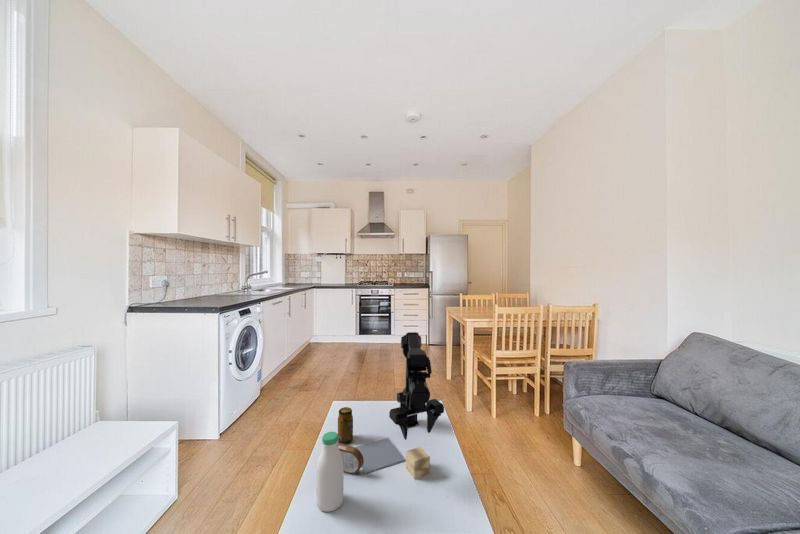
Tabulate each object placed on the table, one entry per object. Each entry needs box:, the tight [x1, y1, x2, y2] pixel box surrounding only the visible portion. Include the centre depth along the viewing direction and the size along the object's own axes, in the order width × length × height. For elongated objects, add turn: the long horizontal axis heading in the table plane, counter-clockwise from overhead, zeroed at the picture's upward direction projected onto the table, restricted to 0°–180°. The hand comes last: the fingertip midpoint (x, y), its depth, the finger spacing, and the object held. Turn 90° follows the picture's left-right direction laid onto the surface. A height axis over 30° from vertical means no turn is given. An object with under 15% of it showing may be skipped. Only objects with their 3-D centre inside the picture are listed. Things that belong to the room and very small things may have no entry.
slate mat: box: [354, 437, 406, 475], centre depth 110 cm, size 15×15×1 cm
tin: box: [337, 443, 364, 475], centre depth 102 cm, size 15×3×8 cm, turn 71°
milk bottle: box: [316, 431, 344, 513], centre depth 88 cm, size 8×8×20 cm
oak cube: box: [405, 446, 431, 480], centre depth 102 cm, size 6×6×6 cm
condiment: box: [337, 406, 360, 446], centre depth 119 cm, size 7×8×12 cm
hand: (417, 435), depth 102 cm, fingers open, 9 cm apart
